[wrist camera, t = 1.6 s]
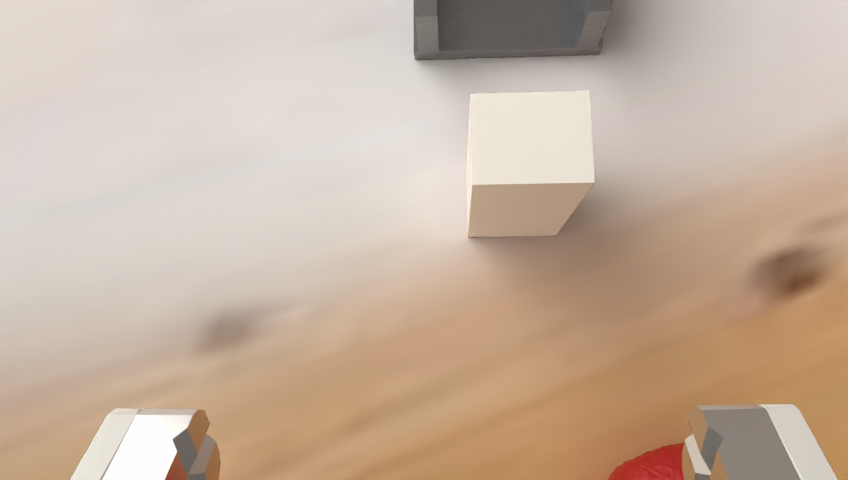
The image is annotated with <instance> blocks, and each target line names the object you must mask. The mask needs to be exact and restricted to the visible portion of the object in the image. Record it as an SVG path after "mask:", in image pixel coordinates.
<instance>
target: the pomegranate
mask: <svg viewBox="0 0 848 480" xmlns="http://www.w3.org/2000/svg"><path fill="white" fill-rule="evenodd" d="M683 446H684V443H681V444H675V445H668V446H663V447H661V448H659V449H655V450H654V451H649V452H646V453H644V454H643V455H641V456H638V457H636V458H635V459H632V460H629V461H627V462H624V463H623V464H622V465H620V466H618V467H617V468H616V469H615V470H614V472H613V473H612V474H611V476H610V478H609V479H608V480H684V476H683V470H682V451H683Z"/></svg>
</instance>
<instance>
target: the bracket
mask: <svg viewBox="0 0 848 480" xmlns="http://www.w3.org/2000/svg"><path fill="white" fill-rule="evenodd" d="M611 13H612V0H414V56H415V60H424V59H460V58H496V57H532V56H568V55H599V52H600V50H601V48H602V38H601V36H602V34H603V31H604V29H605V27H606V24H607V22H608V20H609V17H610V15H611Z"/></svg>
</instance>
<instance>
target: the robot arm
mask: <svg viewBox="0 0 848 480" xmlns="http://www.w3.org/2000/svg"><path fill="white" fill-rule="evenodd" d="M689 423H690V426H691V429H692V432H693V434H691V435H690V436H689V437H688V438H686V439H685V441H684V446H683V451H682V470H683V476H684V480H838V478H837V477H836V475H835V473H834V471H833V469H832V468H831V466H830V464H829V462H828V460H827V459H826V457H825V455H824V453H823V451H822V450H821V448H820V446H819V444H818V442H817V441H816V439H815V437H814V435H813V433H812V432H811V430H810V428H809V426H808V424H807V423H806V421H805V419H804V417H803V415H802V414H801V412H800V410H799V409H798V408H797V407H796V406H794V405H793V404H766V405H757V404H743V405H695V407H694V408H693V409H692V411H691V415H690V419H689ZM209 425H210V423H209V420H208V418H207V416H206V413H205V411H204V410H199V409H150V408H144V409H128V408H115V409H114V410H113V411H112V412H110V413H109V414H108V415H107V416H106V418H105V420H104V421H103V423H102V425H101V427H100V428H99V430H98V432H97V434H96V435H95V437H94V439H93V441H92V442H91V444H90V446H89V448H88V449H87V451H86V453H85V454H84V456H83V458H82V460H81V461H80V463H79V465H78V467H77V468H76V470H75V472H74V474H73V475H72V477H71V479H70V480H219V472H220V464H221V463H220V454H219V449H218V446H217V443H216V441H215V440H214V439H212V438H211V437H210V436H208V435H207V434H206V432H207V430H208V427H209Z"/></svg>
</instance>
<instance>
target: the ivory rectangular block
mask: <svg viewBox="0 0 848 480" xmlns="http://www.w3.org/2000/svg"><path fill="white" fill-rule="evenodd" d="M594 183H595V177H594V159H593V142H592V124H591V107H590V91H554V92H515V93H475V94H470V111H469V132H468V152H467V214H468V237H505V236H556V235H557V234H558V232H559V231H560V229H561V228H562V227H563V225H564V224H565V223H566V221H567V220H568V219H569V217H570V216H571V214H572V213H573V212H574V210H575V209H576V208H577V206H578V205H579V203H580V202H581V201H582V199H583V198H584V197H585V195H586V194H587V193H588V191H589V190H590V188H591V187H592V186H593V184H594Z"/></svg>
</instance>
